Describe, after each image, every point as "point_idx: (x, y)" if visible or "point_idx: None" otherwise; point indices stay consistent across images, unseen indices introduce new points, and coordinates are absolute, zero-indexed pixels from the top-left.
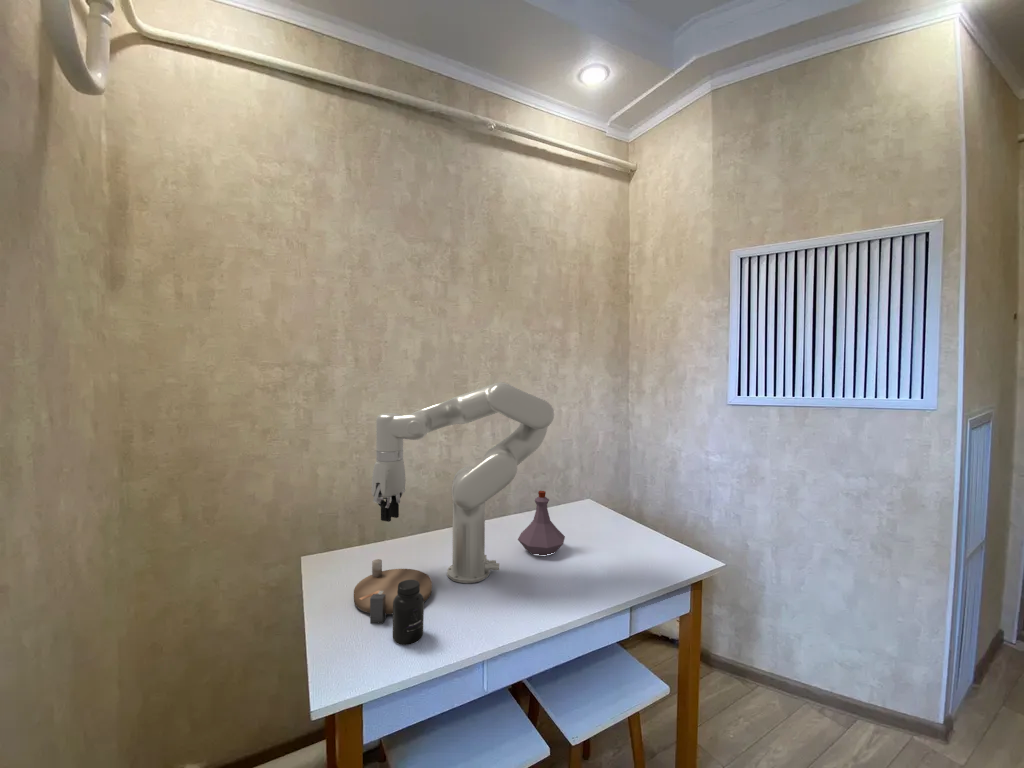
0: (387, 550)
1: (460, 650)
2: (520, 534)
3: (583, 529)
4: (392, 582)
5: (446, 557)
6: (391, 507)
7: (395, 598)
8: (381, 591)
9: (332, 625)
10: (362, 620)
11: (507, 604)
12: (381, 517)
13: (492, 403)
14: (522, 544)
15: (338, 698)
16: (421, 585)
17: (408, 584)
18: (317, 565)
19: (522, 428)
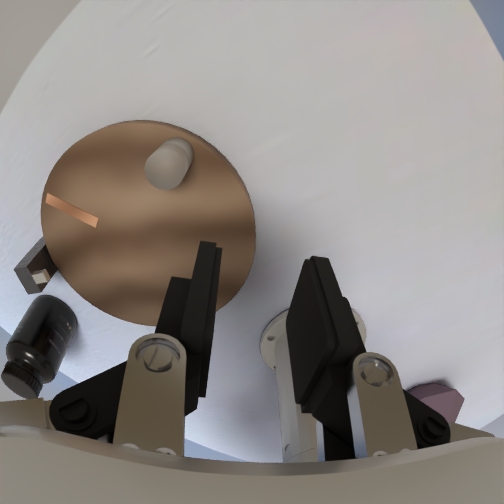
0: (442, 59)
1: (79, 375)
2: (446, 393)
3: (477, 407)
4: (152, 229)
5: (404, 264)
6: (312, 341)
7: (8, 351)
8: (43, 278)
9: (5, 168)
10: (40, 215)
11: (210, 406)
12: (197, 257)
13: None
14: (416, 396)
15: None
16: None
17: (17, 387)
18: None
19: None
